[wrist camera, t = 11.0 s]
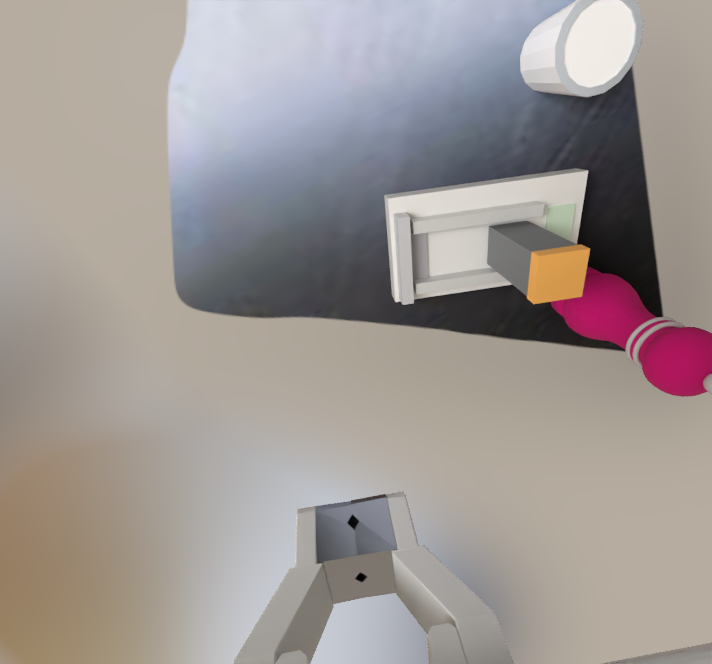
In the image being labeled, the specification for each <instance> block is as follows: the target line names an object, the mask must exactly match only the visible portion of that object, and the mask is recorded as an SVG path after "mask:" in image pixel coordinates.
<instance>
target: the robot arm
mask: <svg viewBox="0 0 712 664" xmlns="http://www.w3.org/2000/svg"><path fill="white" fill-rule="evenodd" d="M295 554H296V555H295V568H291V569H289V571H288V573H287V574H286V576H285V577H284V579H283V581H282V582H281V584H280V586H279V587H278V589H277V591H276V592H275V594H274V595H273V597H272V599H271V600H270V602H269V604H268V605H267V607H266V609H265V610H264V612H263V614H262V615H261V617H260V619H259V621H258V622H257V624H256V625H255V627H254V629H253V630H252V632H251V634H250V635H249V637H248V639H247V640H246V642H245V644H244V645H243V647H242V649H241V650H240V652H239V653H238V655H237V657H236V658H235V660H234V664H310V662H311V660H312V657H313V655H314V653H315V650H316V648H317V645H318V643H319V640H320V638H321V635H322V633H323V631H324V628H325V626H326V623H327V621H328V618H329V616H330V614H331V611H332V609H333V604H336V603H340V602H345V601H350V600H355V599H359V598H364V597H371V596H377V595H384V594H390V593H397V595H398V597H399V598H400V599H401V601H402V602H403V603H404V604H405V606H406V607H407V608H408V610H409V611H410V612H411V614H412V615H413V616H414V617H415V619H416V620H417V621H418V623H419V624H420V625H421V626H422V628H423V629H424V630H425V632H426V633H427V634H428V653H429V664H514V663H513V660H512V657H511V655H510V652H509V649H508V647H507V644H506V641H505V639H504V636H503V634H502V631H501V628H500V626H499V623H498V620H497V618H496V615H495V613H494V612H493V611H492V610H491V609H490V608H489V607H488V606H487V605H486V604H485V603H484V602H483V601H482V600H481V599H479V598H478V597H477V596H476V595H475V594H474V593H473V592H472V591H471V590H470V589H469V588H468V587H467V586H466V585H465V584H464V583H463V582H462V581H461V580H460V579H459V578H458V577H457V576H456V575H455V574H454V573H453V572H451V571H450V570H449V569H448V568H447V567H446V566H445V565H444V564H443V563H442V562H441V561H440V560H439V559H438V558H437V557H436V556H435V555H434V554H433V553H432V552H431V551H430V550H429V549H428V548H426V547H425V546H424V545H422V546H419V545H418V541H417V537H416V533H415V530H414V526H413V522H412V518H411V514H410V511H409V507H408V503H407V500H406V495H405V494H404V492H398V493H392V494H387V495H385V494H383V495H378V496H373V497H367V498H362V499H356V500H351V501H349V502H343V503H335V504H328V505H322V506H314V507H308V508H302V509H298V511H297V515H296V553H295ZM602 664H712V643H708V644H702V645H697V646H692V647H687V648H682V649H676V650H671V651H666V652H660V653H655V654H650V655H644V656H639V657H634V658H629V659H623V660H618V661H613V662H608V663H602Z"/></svg>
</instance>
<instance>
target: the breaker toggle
mask: <svg viewBox="0 0 712 664" xmlns="http://www.w3.org/2000/svg"><path fill="white" fill-rule="evenodd" d="M589 253H590V248H588V247H586V246H584V245H582V244H580V245H577V244H575V243H573V242H571V241H569V240H567V239H565V238H563V237H560V236H558V235H556V234H554V233H552V232H550V231H548V230H546V229H544V228H542V227H539V226H537V225H535V224H533V223H531V222H529V221H521V222H514V223H507V224H500V225H493V226H489V233H488V254H487V264H488V265H489V266H491V267H492V268H493V269H494V270H495V271H497V272H498V273H499V274H500V275H502V276H503V277H504V278H505V279H506V280H508V281H509V282H510V283H511V284H513V285H514V286H515V287H516V288H517V289H519V290H520V291H521V292H522V293H524V294H525V295H526V296H527V299H528V300H529V301H531V302H532V303H533V304H538V303H544V302H551V301H557V300H564V299H570V298H577V297H582V293H583V288H584V282H585V276H586V270H587V265H588V259H589Z"/></svg>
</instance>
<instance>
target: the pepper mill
mask: <svg viewBox="0 0 712 664" xmlns="http://www.w3.org/2000/svg"><path fill="white" fill-rule="evenodd" d="M551 305H552V307H553V309H554V310H555V311H556V312H558V313H559V314H560V315H562V316H563V317H564V319H565V321H566V323H567V325H568V326H569V327H570V328H571V329H572V330H573V331H575V332H577V333H578V334H580V335H582V336H585V337H588V338H591V339H596V340H604V341H610V342H613V343H615V344H617V345H619V346H620V347H622V348H623V349H624V350H626V355H627V357H628V359H629V360H630V361H632V362H633V363H635V364H636V365H637V366H638V367H640V368H642V369H643V372H644V375H645V377H646V378H647V380H648V381H649V382H650V383H651V384H653V385H654V386H655V387H657V388H658V389H660V390H662V391H664V392H666V393H668V394H671V395H676V396H695V395H699V394H701V393H705V392H709V393H711V394H712V333H710V332H708V331H705V330H702V329H699V328H695V327H685V326H683V325H682V324H680V323H678V322H676V321H675V320H673V319H671V318H668V317H655V316H654V315H653V314H651V313H650V312H649V311H648V310H647V309H646V308H645V306H644V305H643V303H642V301H641V299H640V298H639V296H638V294H637V292H636V291H635V290H634V289H633V287H632V286H631V285H630V284H629V283H628V282H626V281H625V280H623V279H622V278H620V277H619V276H616V275H613V274H608V273H603V274H602V273H601V272H599V271H597V270H595V269H593V268H591V267H587V270H586V276H585V282H584V288H583V293H582V297H577V298H570V299H564V300H557V301H551Z"/></svg>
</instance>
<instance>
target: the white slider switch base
mask: <svg viewBox="0 0 712 664" xmlns="http://www.w3.org/2000/svg"><path fill="white" fill-rule="evenodd" d="M587 176H588V170H582V169H577V168H575V169H568V170H561V171H553V172H546V173H539V174H532V175H525V176H517V177H510V178H503V179H496V180H489V181H481V182H474V183H467V184H460V185H453V186H445V187H438V188H431V189H424V190H417V191H409V192H402V193H395V194H388V195H385V208H386V222H387V235H388V248H389V261H390V274H391V288H392V296H393V298H394V300H395V302H399V301H401V303H402V305H406V304H412V303H414V299H419V298H426V297H432V296H439V295H446V294H452V293H459V292H466V291H472V290H479V289H486V288H492V287H499V286H505V285H512V284H511V283H510V282H509V281H508V280H506V279H505V278H504V277H503V276H502V275H500V274H499V273H498V272H497V271H495V270H494V269H493V268H492V267H491V266H489V265H488V264H487V254H488V233H489V226H493V225H500V224H507V223H514V222H521V221H529V222H531V223H533V224H535V225H537V226H539V227H542V228H544V229H546V230H548V231H550V232H552V233H554V234H556V235H558V236H560V237H563V238H565V239H567V240H569V241H571V242H573V243H575V244H577V240H578V234H579V227H580V221H581V214H582V208H583V202H584V195H585V189H586V183H587Z"/></svg>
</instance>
